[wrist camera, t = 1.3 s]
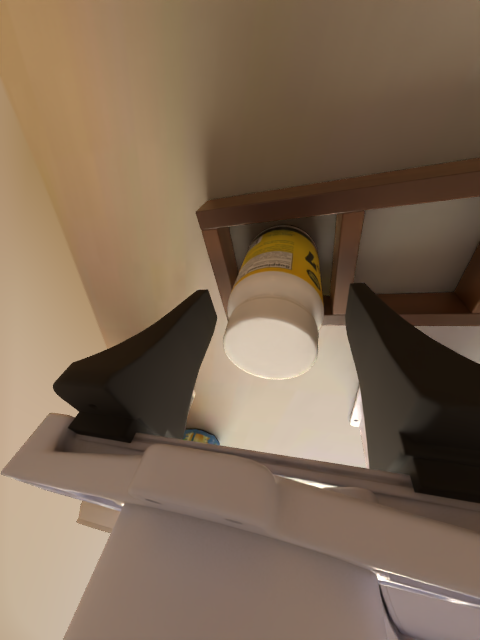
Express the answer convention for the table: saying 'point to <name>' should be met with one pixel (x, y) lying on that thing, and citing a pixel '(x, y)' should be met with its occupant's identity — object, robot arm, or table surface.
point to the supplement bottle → (276, 306)
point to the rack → (353, 234)
